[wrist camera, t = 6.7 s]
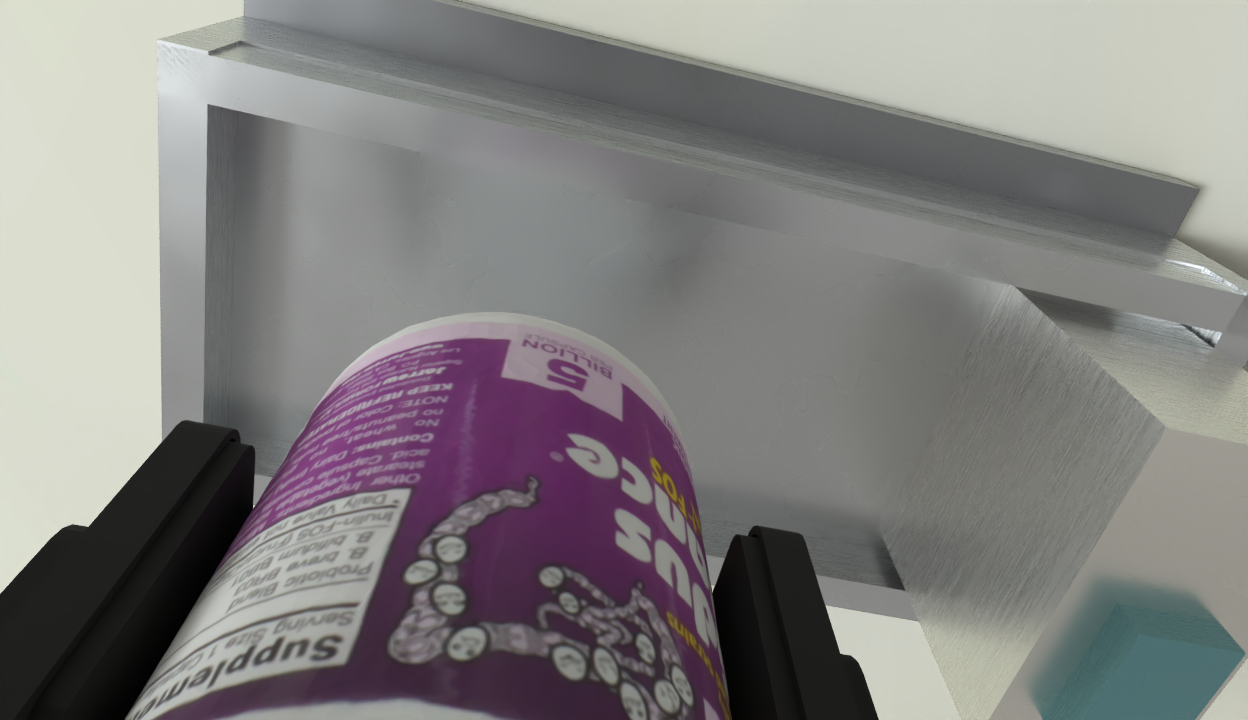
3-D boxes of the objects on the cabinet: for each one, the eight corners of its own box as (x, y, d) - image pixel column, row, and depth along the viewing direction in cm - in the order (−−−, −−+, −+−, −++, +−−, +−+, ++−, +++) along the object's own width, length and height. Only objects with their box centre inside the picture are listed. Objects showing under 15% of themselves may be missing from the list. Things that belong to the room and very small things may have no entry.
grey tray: (262, -48, 15) (-73, -13, 8) (1175, 178, 17) (1600, 376, 10) (244, 422, 20) (19, 730, 12) (972, 557, 22) (1160, 892, 14)
